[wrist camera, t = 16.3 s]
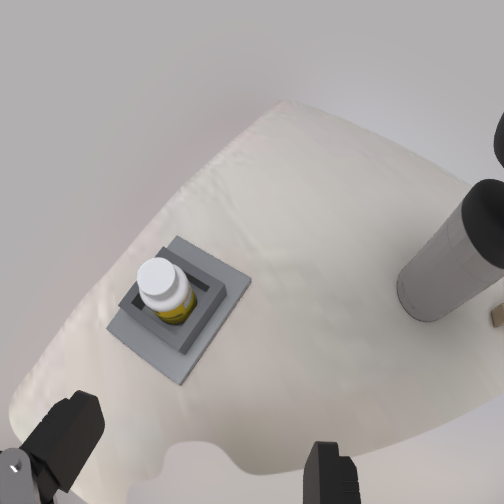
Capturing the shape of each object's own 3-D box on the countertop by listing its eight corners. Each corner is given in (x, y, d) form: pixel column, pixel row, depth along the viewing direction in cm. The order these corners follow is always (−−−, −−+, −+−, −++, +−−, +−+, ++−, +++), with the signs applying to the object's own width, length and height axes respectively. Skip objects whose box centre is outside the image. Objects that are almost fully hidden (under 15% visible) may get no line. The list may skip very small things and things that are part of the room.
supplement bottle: (151, 321, 37) (122, 293, 29) (163, 281, 40) (140, 245, 31) (191, 331, 37) (172, 307, 28) (203, 290, 39) (189, 255, 30)
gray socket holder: (178, 239, 44) (171, 221, 40) (251, 281, 41) (251, 266, 37) (109, 330, 38) (94, 321, 33) (181, 385, 35) (171, 382, 31)
